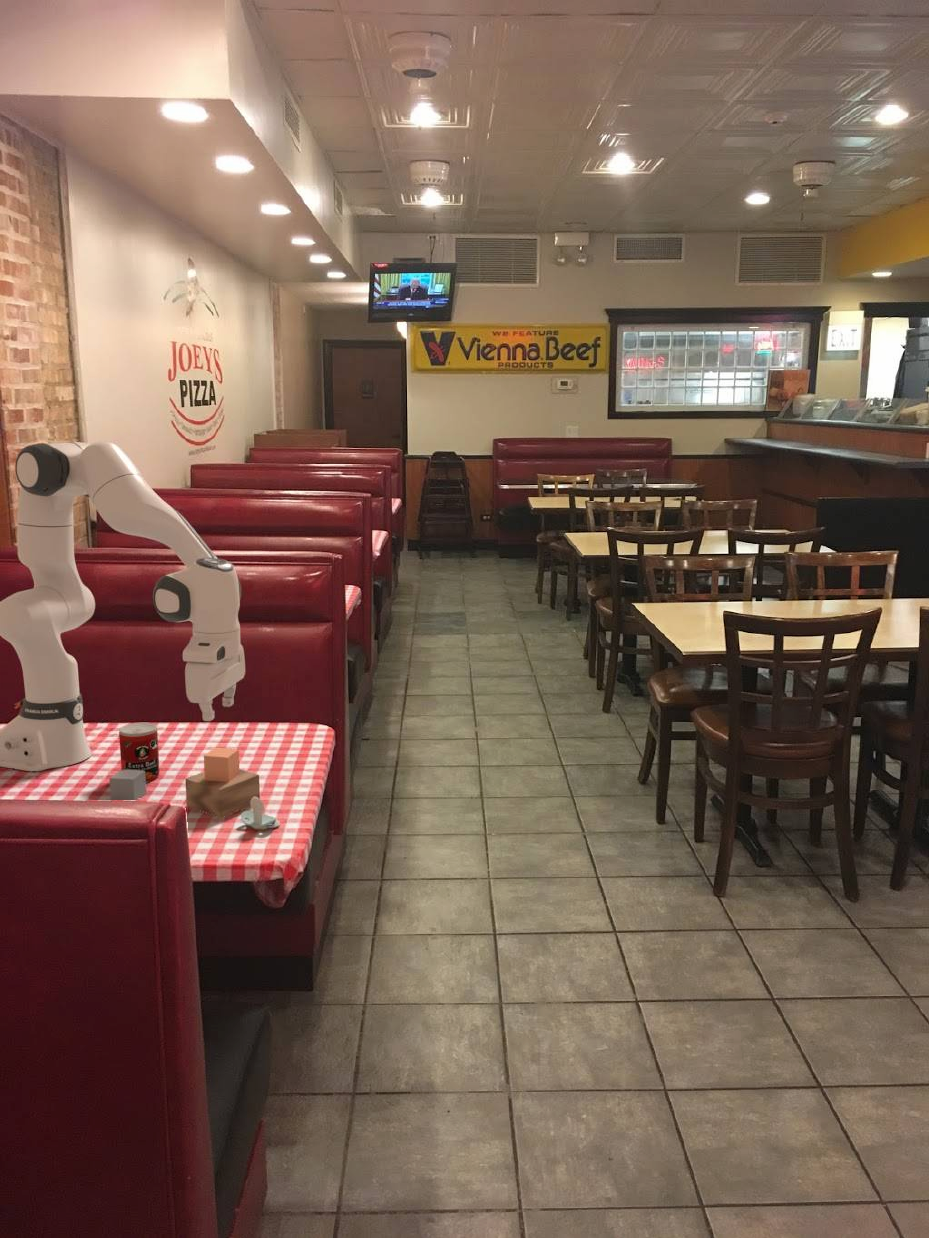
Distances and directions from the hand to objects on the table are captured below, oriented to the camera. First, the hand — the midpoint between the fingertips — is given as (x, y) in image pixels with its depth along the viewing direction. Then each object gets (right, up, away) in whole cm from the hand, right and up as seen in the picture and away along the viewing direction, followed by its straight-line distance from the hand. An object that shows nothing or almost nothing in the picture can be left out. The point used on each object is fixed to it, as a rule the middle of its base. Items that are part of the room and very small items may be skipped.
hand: (218, 712), depth 184 cm
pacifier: (+10, -21, -6) cm, 24 cm away
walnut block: (0, -19, +4) cm, 19 cm away
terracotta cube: (0, -13, +3) cm, 13 cm away
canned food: (-21, -16, +18) cm, 32 cm away
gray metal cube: (-20, -18, +7) cm, 27 cm away
